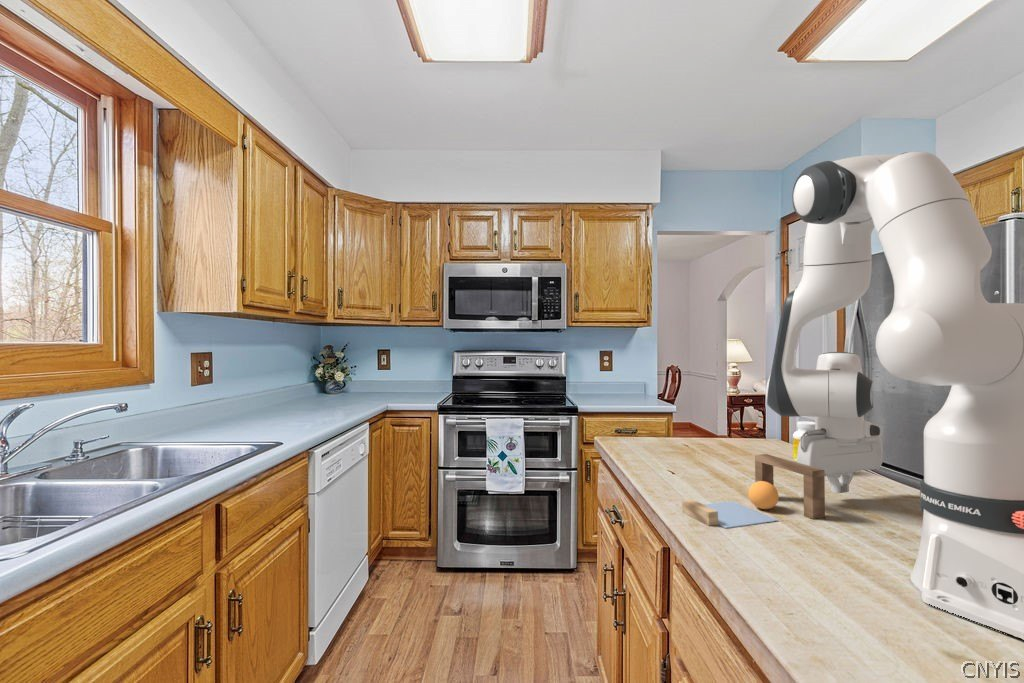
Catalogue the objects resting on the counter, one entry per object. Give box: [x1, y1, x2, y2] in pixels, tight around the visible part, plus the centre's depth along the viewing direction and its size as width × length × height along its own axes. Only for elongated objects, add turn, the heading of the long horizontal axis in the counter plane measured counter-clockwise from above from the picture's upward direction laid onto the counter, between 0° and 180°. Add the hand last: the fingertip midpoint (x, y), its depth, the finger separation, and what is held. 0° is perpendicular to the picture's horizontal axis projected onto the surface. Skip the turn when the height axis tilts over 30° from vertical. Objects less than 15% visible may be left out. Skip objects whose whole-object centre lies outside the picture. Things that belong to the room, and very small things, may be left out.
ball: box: [747, 481, 780, 510], centre depth 101 cm, size 6×6×6 cm
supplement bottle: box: [792, 420, 815, 462], centre depth 129 cm, size 7×7×13 cm
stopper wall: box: [681, 498, 719, 527], centre depth 96 cm, size 8×2×2 cm, turn 17°
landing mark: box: [703, 500, 779, 529], centre depth 98 cm, size 12×12×1 cm
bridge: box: [754, 453, 826, 520], centre depth 102 cm, size 3×14×9 cm, turn 17°
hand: (840, 492), depth 107 cm, fingers closed
